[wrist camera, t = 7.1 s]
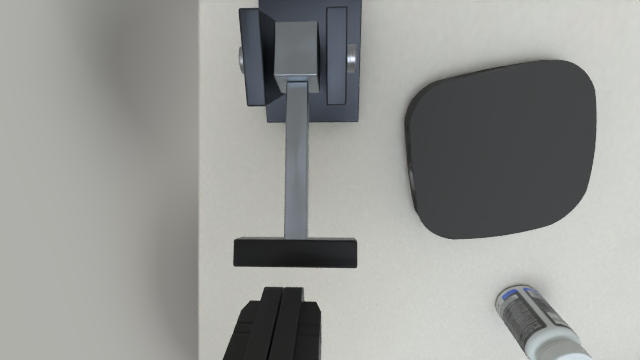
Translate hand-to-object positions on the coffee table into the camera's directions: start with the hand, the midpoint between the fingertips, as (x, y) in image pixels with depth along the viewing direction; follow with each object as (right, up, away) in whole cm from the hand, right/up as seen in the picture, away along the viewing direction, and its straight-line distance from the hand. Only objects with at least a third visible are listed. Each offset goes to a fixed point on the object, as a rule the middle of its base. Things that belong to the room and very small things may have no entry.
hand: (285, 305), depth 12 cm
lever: (0, +7, +5) cm, 8 cm away
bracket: (+1, +15, +15) cm, 21 cm away
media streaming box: (+17, +8, +17) cm, 25 cm away
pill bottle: (+23, -8, +22) cm, 33 cm away
